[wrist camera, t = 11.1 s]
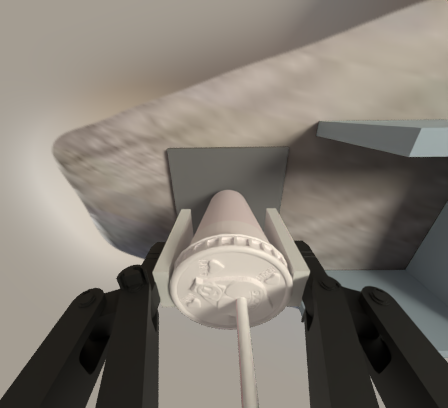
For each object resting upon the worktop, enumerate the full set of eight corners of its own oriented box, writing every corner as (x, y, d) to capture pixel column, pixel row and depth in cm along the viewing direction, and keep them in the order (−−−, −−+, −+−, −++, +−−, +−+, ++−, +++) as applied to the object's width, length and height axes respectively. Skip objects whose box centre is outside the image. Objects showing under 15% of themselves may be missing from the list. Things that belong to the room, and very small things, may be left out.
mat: (286, 146, 16) (289, 147, 16) (273, 241, 21) (274, 244, 21) (168, 148, 17) (166, 149, 16) (182, 241, 21) (181, 245, 21)
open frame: (512, 118, 15) (833, 122, 7) (410, 276, 24) (503, 357, 16) (319, 121, 15) (422, 127, 7) (286, 276, 24) (317, 358, 16)
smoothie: (243, 240, 20) (275, 465, 7) (187, 221, 18) (107, 447, 6) (272, 191, 17) (408, 411, 4) (209, 165, 16) (149, 359, 3)
